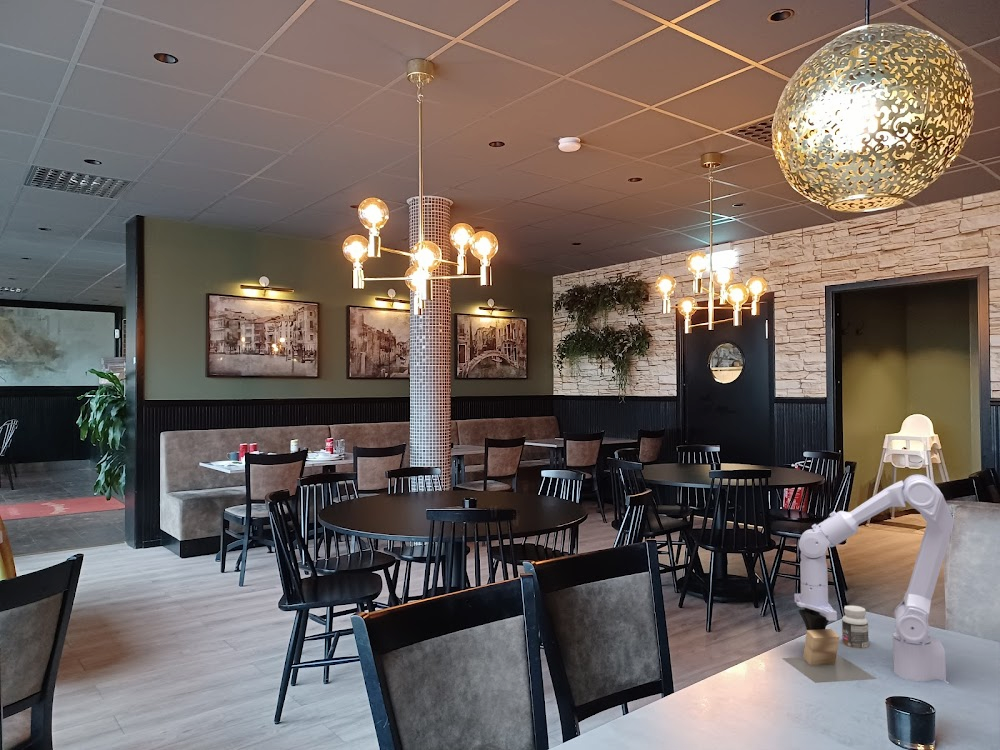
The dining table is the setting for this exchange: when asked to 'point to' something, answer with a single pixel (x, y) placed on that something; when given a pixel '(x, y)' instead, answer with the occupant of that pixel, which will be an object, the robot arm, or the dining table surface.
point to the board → (830, 670)
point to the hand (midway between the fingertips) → (815, 642)
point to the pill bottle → (855, 627)
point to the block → (821, 647)
